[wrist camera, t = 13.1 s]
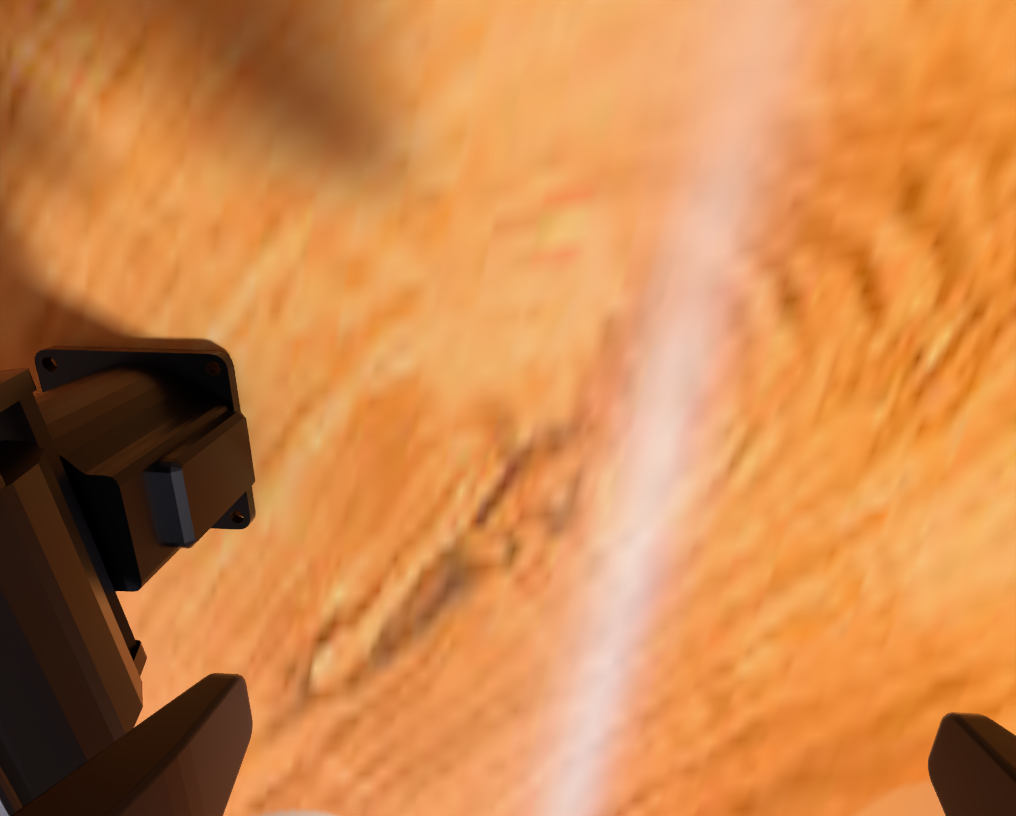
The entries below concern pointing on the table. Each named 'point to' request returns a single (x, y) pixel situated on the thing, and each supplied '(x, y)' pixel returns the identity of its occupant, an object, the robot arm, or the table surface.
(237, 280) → the table surface
